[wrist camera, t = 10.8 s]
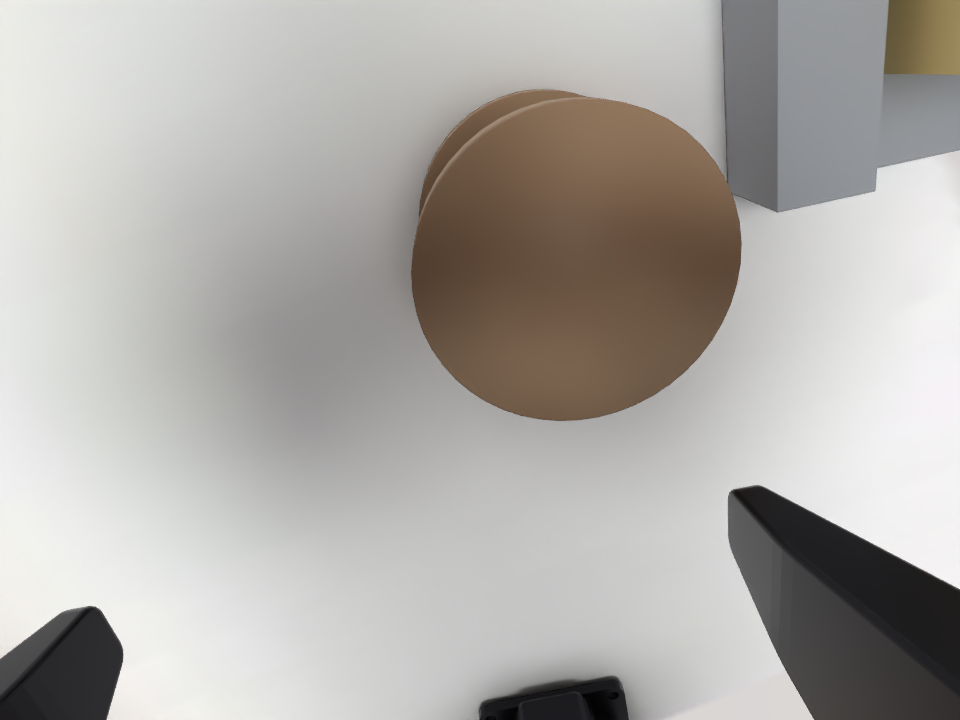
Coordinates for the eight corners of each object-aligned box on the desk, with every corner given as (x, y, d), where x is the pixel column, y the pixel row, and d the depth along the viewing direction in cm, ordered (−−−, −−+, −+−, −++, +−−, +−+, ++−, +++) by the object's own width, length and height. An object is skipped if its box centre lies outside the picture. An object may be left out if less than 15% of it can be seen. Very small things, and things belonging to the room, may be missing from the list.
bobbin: (662, 299, 20) (744, 386, 14) (449, 345, 20) (453, 447, 15) (641, 63, 17) (737, 61, 11) (392, 120, 17) (370, 144, 12)
